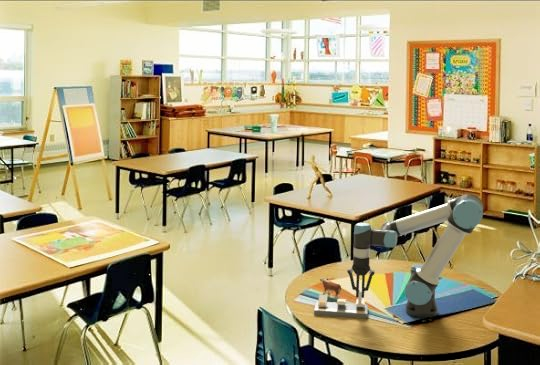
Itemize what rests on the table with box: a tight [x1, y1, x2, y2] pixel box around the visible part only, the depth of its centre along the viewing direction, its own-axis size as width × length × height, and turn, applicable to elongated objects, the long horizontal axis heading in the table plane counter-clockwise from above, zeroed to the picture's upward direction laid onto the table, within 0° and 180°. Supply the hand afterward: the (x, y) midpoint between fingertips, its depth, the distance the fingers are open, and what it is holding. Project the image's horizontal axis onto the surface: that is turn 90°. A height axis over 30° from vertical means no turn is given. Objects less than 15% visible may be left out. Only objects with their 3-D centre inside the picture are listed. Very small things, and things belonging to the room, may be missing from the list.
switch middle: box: [336, 298, 347, 305], centre depth 284 cm, size 4×7×1 cm, turn 170°
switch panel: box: [313, 300, 369, 319], centre depth 284 cm, size 25×12×4 cm, turn 80°
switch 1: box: [317, 294, 329, 307], centre depth 286 cm, size 4×7×1 cm, turn 170°
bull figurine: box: [319, 277, 342, 299], centre depth 304 cm, size 4×13×8 cm, turn 42°
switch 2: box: [355, 298, 366, 307], centre depth 283 cm, size 4×7×1 cm, turn 170°
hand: (359, 303), depth 279 cm, fingers closed
